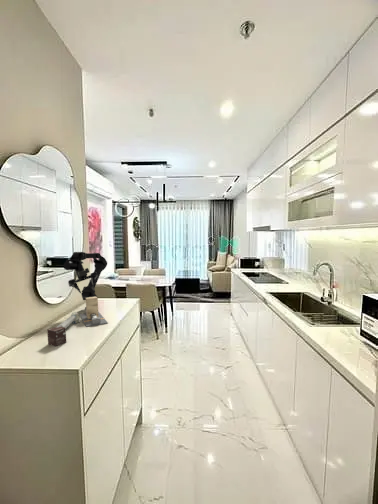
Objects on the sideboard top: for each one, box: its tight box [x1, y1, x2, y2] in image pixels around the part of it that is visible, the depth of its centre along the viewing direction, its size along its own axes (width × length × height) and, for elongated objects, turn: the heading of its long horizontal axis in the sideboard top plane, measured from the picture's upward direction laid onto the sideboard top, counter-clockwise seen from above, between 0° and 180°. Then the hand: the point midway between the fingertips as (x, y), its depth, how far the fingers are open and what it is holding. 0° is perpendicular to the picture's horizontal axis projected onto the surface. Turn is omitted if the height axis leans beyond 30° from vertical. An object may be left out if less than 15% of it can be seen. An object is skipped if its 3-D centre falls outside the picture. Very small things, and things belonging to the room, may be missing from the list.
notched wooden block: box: [85, 296, 99, 319], centre depth 184 cm, size 5×6×12 cm
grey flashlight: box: [56, 311, 81, 329], centre depth 168 cm, size 5×7×25 cm
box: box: [46, 325, 67, 347], centre depth 142 cm, size 6×6×7 cm
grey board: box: [79, 310, 109, 328], centre depth 183 cm, size 30×12×4 cm, turn 27°
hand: (87, 290), depth 196 cm, fingers open, 9 cm apart
